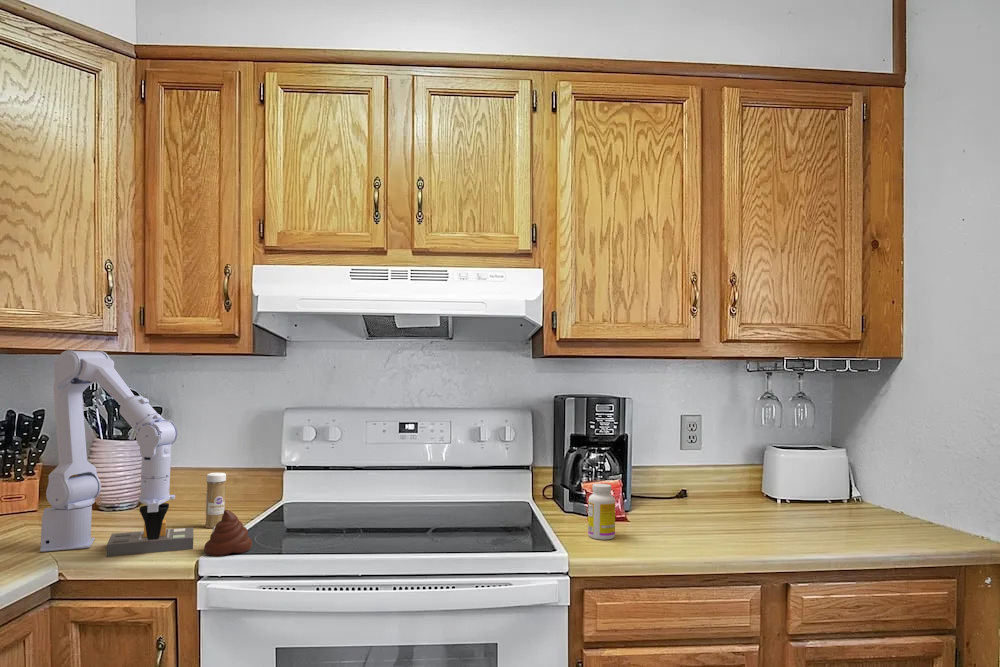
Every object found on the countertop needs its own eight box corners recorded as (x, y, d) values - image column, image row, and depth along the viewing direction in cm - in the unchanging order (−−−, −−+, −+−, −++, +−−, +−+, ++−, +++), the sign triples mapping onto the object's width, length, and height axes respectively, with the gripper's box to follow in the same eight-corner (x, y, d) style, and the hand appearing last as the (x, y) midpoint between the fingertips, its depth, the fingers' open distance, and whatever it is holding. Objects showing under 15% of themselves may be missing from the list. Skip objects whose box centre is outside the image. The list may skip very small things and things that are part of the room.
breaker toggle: (143, 537, 153) (144, 524, 153) (144, 534, 156) (144, 521, 156) (165, 535, 155) (165, 522, 155) (165, 532, 158) (166, 519, 158)
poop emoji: (209, 559, 146) (210, 515, 147) (199, 550, 153) (201, 508, 154) (256, 552, 152) (257, 510, 153) (245, 543, 159) (247, 503, 160)
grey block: (106, 556, 147) (106, 543, 147) (111, 544, 156) (111, 532, 156) (193, 548, 154) (193, 536, 154) (193, 538, 163) (193, 526, 163)
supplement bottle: (619, 536, 172) (619, 484, 172) (607, 542, 166) (608, 488, 167) (595, 532, 175) (595, 481, 176) (583, 537, 170) (583, 485, 170)
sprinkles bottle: (212, 529, 171) (214, 475, 172) (201, 527, 173) (202, 473, 174) (228, 526, 175) (230, 473, 176) (216, 523, 177) (218, 471, 178)
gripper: (174, 480, 145) (172, 545, 145) (176, 470, 158) (174, 529, 158) (137, 482, 142) (134, 548, 142) (142, 471, 156) (140, 532, 155)
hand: (153, 539), depth 150 cm, fingers closed
